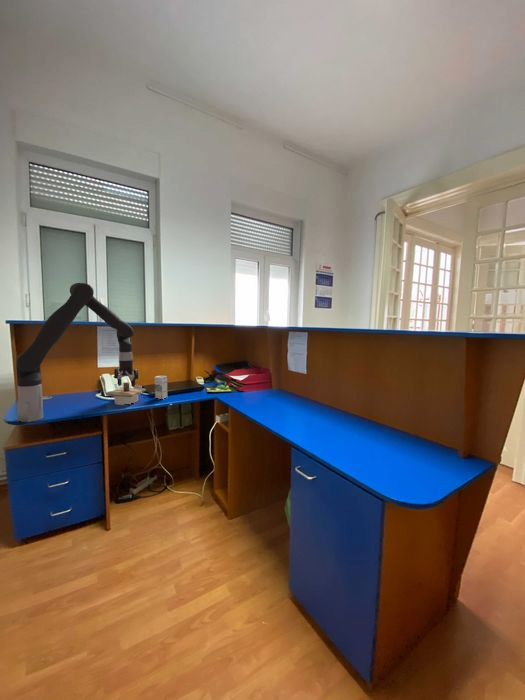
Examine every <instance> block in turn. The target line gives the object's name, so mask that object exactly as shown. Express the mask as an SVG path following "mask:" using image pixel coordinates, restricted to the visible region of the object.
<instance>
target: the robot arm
mask: <svg viewBox="0 0 525 700" xmlns="http://www.w3.org/2000/svg"><path fill="white" fill-rule="evenodd" d="M69 293H70V296H69V298H68V299H67V300H66V301H65V303H64V304H62V305H61V306H59V308H57V309H56V310H55V311H53V313H52V314H51V315H50V316H48V318H47V319H46V321H45V322H44V323H43V325H42V326H41V328H40V330H39V332H38V333H37V335H36V337H35V339H34V340H33V342H32V343H31V344H30V345H29V347H27V349H26V350H25V351H24V352H21V353H20V354H18V356H17V357H16V359H15V366H16V368H15V370H16V382H17V384H16V385H17V396H18V397H17V398H18V399H17V400H18V401H16V416H17V417H16V418H17V422H19V421H21V422H22V423H30V422H31V423H32V422H35V421H39V420H42V419H43V418H44V405H43V404H44V403H43V402H44V401H43V382H42V372H41V371H42V370H41V365H42V363H43V361H44V360H45V358H46V356H47V355H48V353H49V351H50V350H51V349H52V348H53V347H54V345H56V343H57V342H58V341H59V340H60V339H61V338H62V336H63V335H65V333H66V331H67V330H68V329H69V327H71V324H72V323H73V321H74V320H75V319H76V317H77V316H78V314H79V313H80V311H81V310H82V309H83V308H84V307H85V306H86V307H87V308H88V309H90V311H92V312H93V313H94V314H95V315H97V316H98V317H99V319H101V320H102V321H103V322H105V324H106V325H108V326H109V327H110V328H112V329H113V330H116V339H117V342H118V345H119V346H118V350H119V351H118V367H117V368H116V367H115V368H114V372H113V373H114V376H113V378H114V379H116V380H117V385H118V387H120V386H122V378H123V377H128V378H130V380H131V385H130V386H131V388H134V387H135V385H136V380H139V370H138V368H136V369H133V367H134V356H133V344H132V342H131V341H130V340H129V339H130V338H133V336H134V334H135V331H134V328H133V327H132V326H131V325H130V324H128V323H127V322H125V321H124V320H122V319H121V318H120V317H119V316H118V315H117V314H116V313H115V312H113V310H111V309H110V308H109V307H107V306H106V305H105V304H103V303H102V302H101V301H100V300H98V298H96V297H95V296H94V294H95V292H94V288H93V286H92V285H91V284H88V283H85V282H75V283H73V284H72V285H71V286H70V287H69ZM21 422H20V423H21Z"/></svg>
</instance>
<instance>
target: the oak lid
mask: <svg viewBox="0 0 525 700" xmlns="http://www.w3.org/2000/svg"><path fill="white" fill-rule="evenodd" d="M146 391H147V389H146V388H142V387H141V388H139V387H138V388H137V387H130V382H127V381H126V382H123V387H120V388H117V389H114V390H111V391H109V392H107V393H105V396H108V397H114V396H122V397H133V396H135V395H137V394H138V395H140V394H142V393H144V392H146Z"/></svg>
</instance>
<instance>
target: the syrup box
mask: <svg viewBox="0 0 525 700" xmlns="http://www.w3.org/2000/svg"><path fill="white" fill-rule="evenodd" d="M166 397H167V398H168V376H167V375H157V376H154V399H155V398H158V399H157V400H160V399H163V400H165V399H164V398H166ZM167 398H166V399H167Z"/></svg>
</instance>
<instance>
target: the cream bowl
mask: <svg viewBox="0 0 525 700" xmlns="http://www.w3.org/2000/svg"><path fill="white" fill-rule="evenodd" d="M113 398H114V404H115V405H117V406H125V405H124V404H130V405H132V404H131V403H134V404H136V403H135V402H137V401H138V400H139V399H140V398H139V394H137V395H135V396H133V397H122V396H113ZM139 401H140V400H139ZM139 401H138V402H139ZM138 402H137V403H138Z"/></svg>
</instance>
